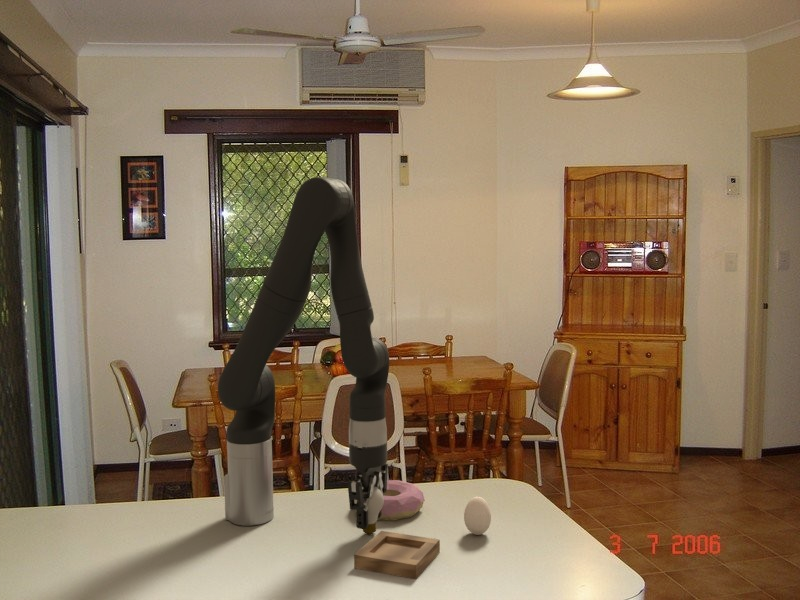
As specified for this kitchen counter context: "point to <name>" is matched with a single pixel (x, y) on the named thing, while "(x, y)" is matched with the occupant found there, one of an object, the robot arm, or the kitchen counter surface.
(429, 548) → the base
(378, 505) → the light bulb
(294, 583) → the kitchen counter surface
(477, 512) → the egg
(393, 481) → the donut
